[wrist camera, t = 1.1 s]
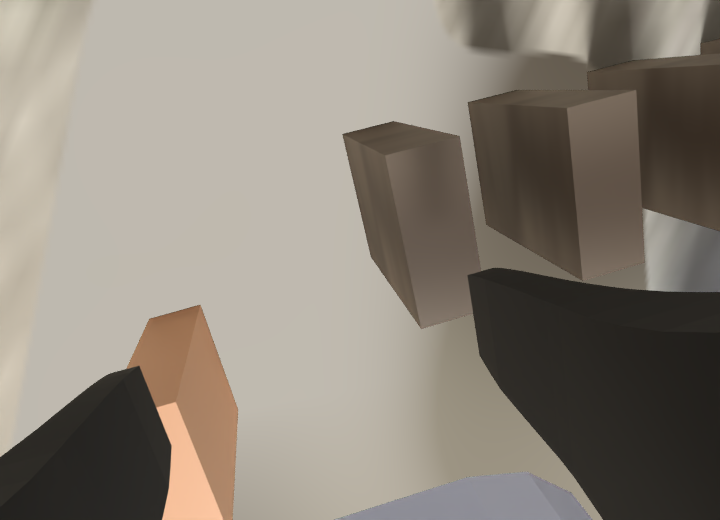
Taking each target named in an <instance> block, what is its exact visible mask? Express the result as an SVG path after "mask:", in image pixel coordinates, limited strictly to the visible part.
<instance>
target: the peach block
mask: <svg viewBox="0 0 720 520" xmlns="http://www.w3.org/2000/svg"><path fill="white" fill-rule="evenodd" d="M136 366H140V369H141V371H142V373H143V376H144V378H145V381H146V383H147V386H148V388H149V391H150V393H151V396H152V398H153V401H154V403H155V406H156V408H157V411H158V413H159V416H160V418H161V421H162V423H163V426H164V428H165V431H166V433H167V436H168V438H169V441H170V443H171V445H172V449H171V468H170V480H169V490H168V495H167V500H166V505H165V509H164V514H163V518H162V520H232V517H233V500H234V481H235V460H236V441H237V421H238V408H237V406H236V403H235V400H234V397H233V394H232V391H231V389H230V386H229V383H228V380H227V378H226V375H225V372H224V369H223V366H222V364H221V361H220V358H219V355H218V352H217V350H216V347H215V344H214V341H213V339H212V336H211V333H210V330H209V327H208V325H207V322H206V319H205V316H204V314H203V311H202V308H201V306H200V305H197V306H194V307H190V308H187V309H183V310H180V311H176V312H173V313H169V314H165V315H162V316H158V317H155V318H151V319H149V321H148V323H147V325H146V327H145V330H144V332H143V334H142V336H141V338H140V340H139V343H138V345H137V347H136V349H135V351H134V354H133V356H132V358H131V360H130V362H129V364H128V366H127V369H129V368H132V367H136Z"/></svg>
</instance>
